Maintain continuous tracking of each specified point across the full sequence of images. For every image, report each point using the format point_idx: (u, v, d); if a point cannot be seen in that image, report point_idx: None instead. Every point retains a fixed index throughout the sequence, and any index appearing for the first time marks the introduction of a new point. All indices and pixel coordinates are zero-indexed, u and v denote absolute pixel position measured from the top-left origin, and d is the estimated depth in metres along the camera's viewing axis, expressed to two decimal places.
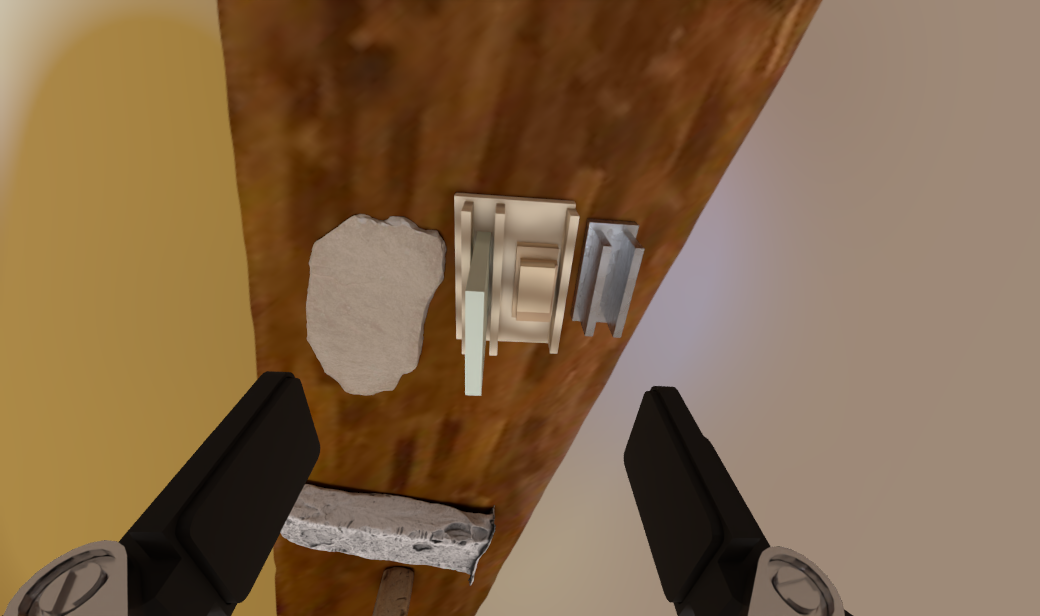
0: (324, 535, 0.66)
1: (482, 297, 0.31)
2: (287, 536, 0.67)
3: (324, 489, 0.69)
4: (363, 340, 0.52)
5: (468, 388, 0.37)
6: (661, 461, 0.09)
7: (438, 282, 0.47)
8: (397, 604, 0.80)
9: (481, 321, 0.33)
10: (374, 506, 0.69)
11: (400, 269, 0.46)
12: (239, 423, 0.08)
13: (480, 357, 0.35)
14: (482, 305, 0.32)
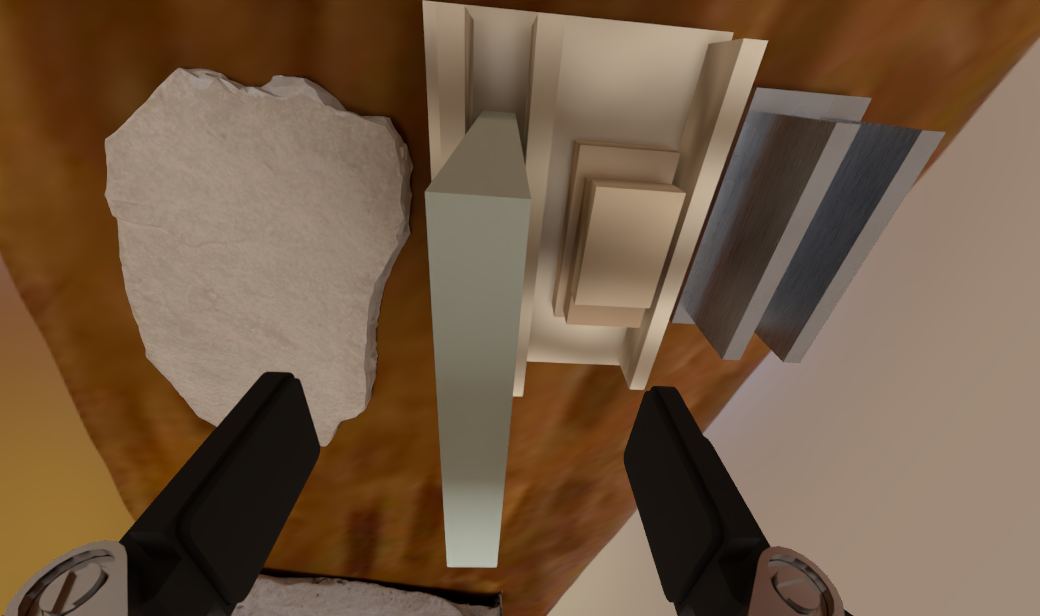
0: None
1: (519, 232, 0.06)
2: None
3: None
4: (255, 361, 0.26)
5: (458, 553, 0.11)
6: (661, 461, 0.09)
7: (396, 241, 0.21)
8: None
9: (508, 352, 0.07)
10: (316, 603, 0.44)
11: (309, 210, 0.21)
12: (239, 423, 0.08)
13: (498, 477, 0.09)
14: (517, 277, 0.06)
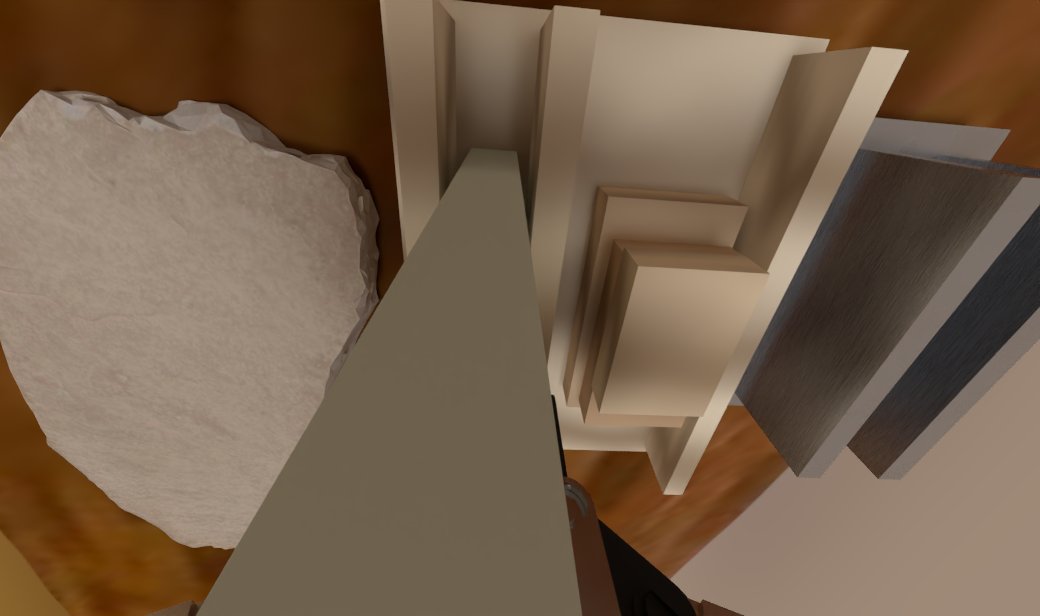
0: None
1: None
2: None
3: None
4: (186, 452, 0.21)
5: None
6: None
7: (356, 315, 0.16)
8: None
9: None
10: None
11: (237, 277, 0.15)
12: None
13: None
14: None
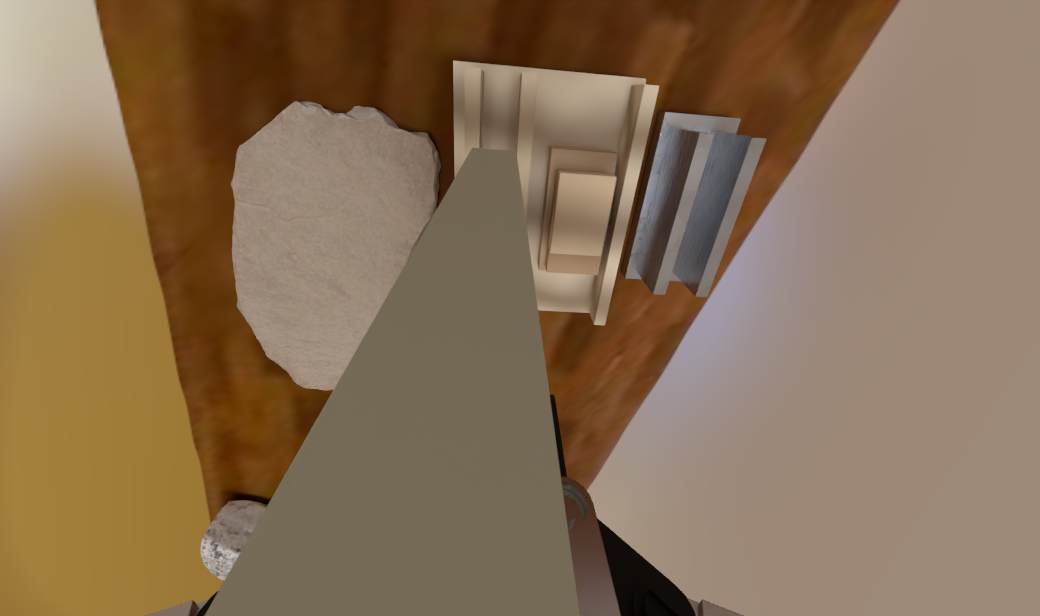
0: None
1: None
2: (216, 572, 0.49)
3: None
4: (318, 309, 0.36)
5: None
6: None
7: (428, 216, 0.31)
8: None
9: None
10: None
11: (370, 194, 0.30)
12: None
13: None
14: None
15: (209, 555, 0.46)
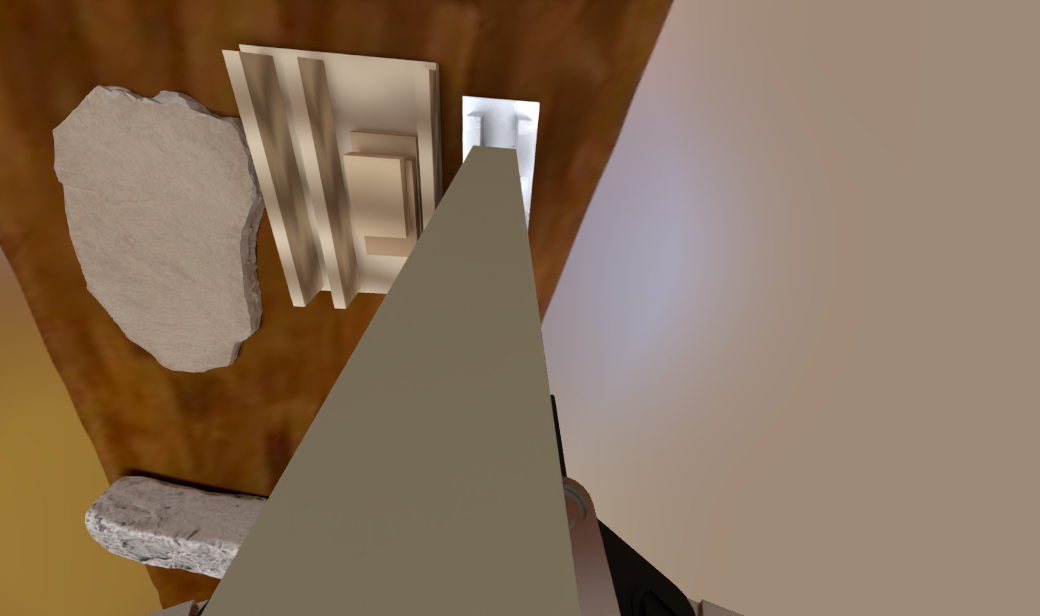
0: (157, 547, 0.49)
1: None
2: (105, 545, 0.50)
3: (169, 485, 0.52)
4: (166, 292, 0.37)
5: None
6: None
7: (251, 200, 0.32)
8: None
9: None
10: (235, 511, 0.53)
11: (189, 178, 0.31)
12: None
13: None
14: None
15: (93, 527, 0.47)
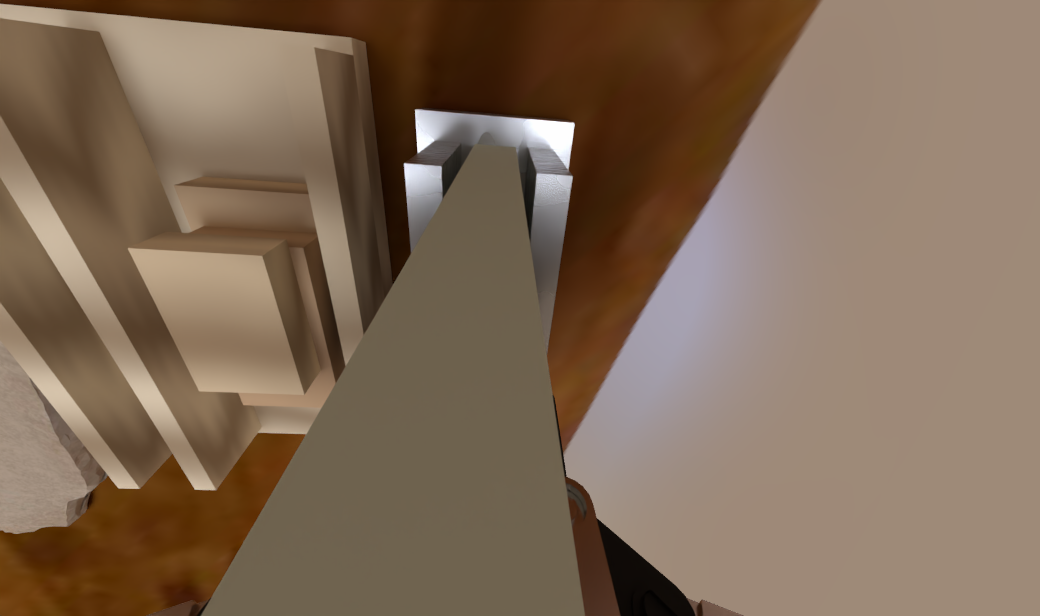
0: None
1: None
2: None
3: None
4: None
5: None
6: None
7: None
8: None
9: None
10: None
11: None
12: None
13: None
14: None
15: None
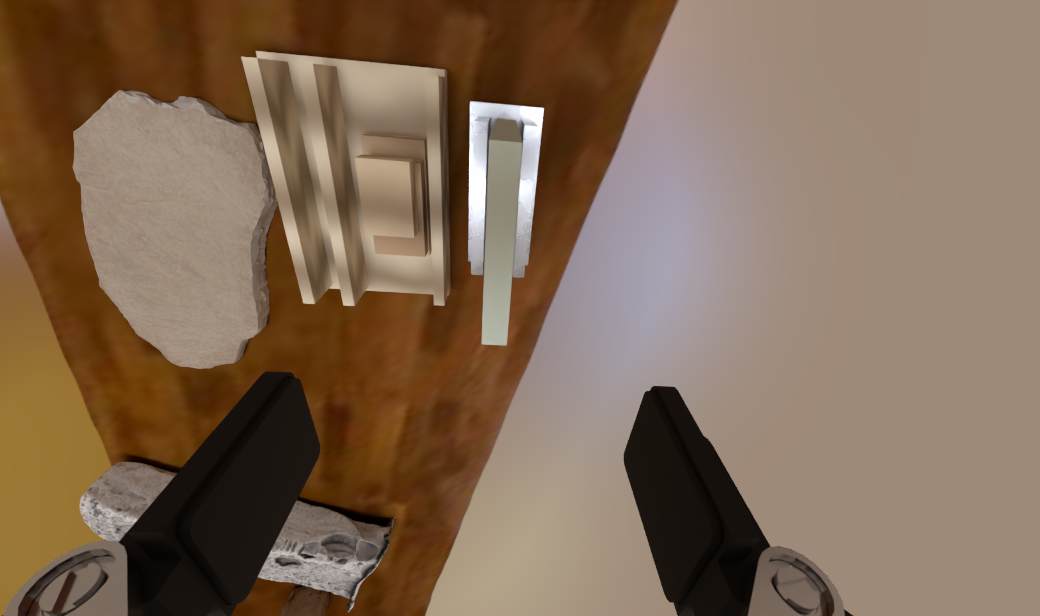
0: None
1: (519, 154, 0.18)
2: (97, 531, 0.49)
3: (165, 473, 0.52)
4: (177, 290, 0.38)
5: (487, 332, 0.23)
6: (661, 461, 0.09)
7: (263, 202, 0.33)
8: None
9: (514, 205, 0.19)
10: None
11: (204, 180, 0.32)
12: (239, 423, 0.08)
13: (509, 276, 0.21)
14: (518, 172, 0.18)
15: (87, 512, 0.46)
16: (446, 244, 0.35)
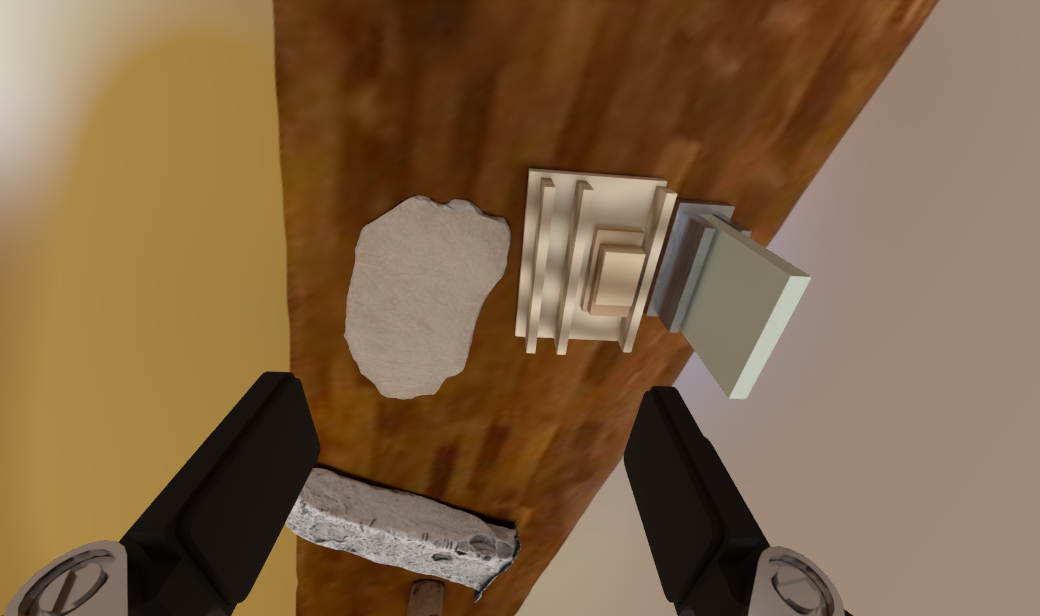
0: (339, 531, 0.58)
1: (806, 283, 0.27)
2: (293, 526, 0.57)
3: (344, 478, 0.61)
4: (407, 339, 0.46)
5: (736, 390, 0.32)
6: (661, 461, 0.09)
7: (500, 276, 0.42)
8: None
9: (790, 312, 0.28)
10: (397, 505, 0.62)
11: (459, 260, 0.41)
12: (239, 423, 0.08)
13: (767, 355, 0.30)
14: (801, 293, 0.27)
15: (297, 511, 0.55)
16: None
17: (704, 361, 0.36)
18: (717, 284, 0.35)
